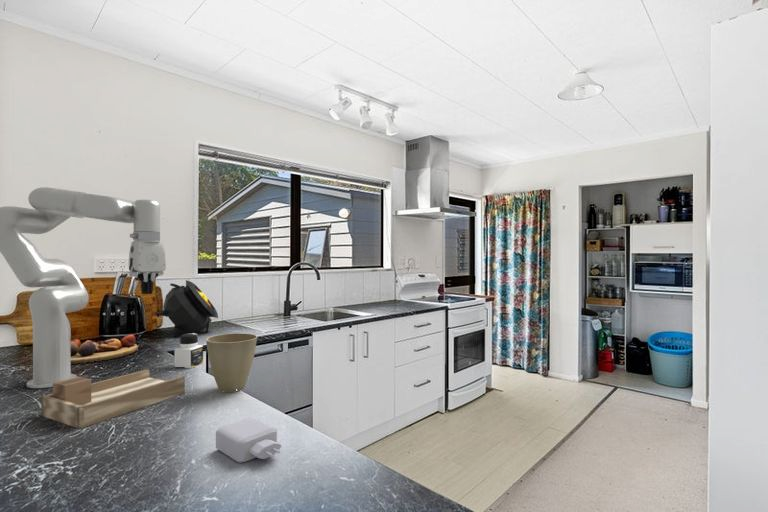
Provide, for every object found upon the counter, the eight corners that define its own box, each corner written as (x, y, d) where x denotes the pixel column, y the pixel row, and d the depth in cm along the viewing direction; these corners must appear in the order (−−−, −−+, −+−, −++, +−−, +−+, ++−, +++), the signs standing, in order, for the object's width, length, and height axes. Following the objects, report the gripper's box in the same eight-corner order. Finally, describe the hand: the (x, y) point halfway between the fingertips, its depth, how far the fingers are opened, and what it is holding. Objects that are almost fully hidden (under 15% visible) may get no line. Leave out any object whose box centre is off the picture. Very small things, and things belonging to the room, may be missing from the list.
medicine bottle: (191, 368, 147) (191, 336, 148) (174, 367, 149) (174, 335, 149) (203, 363, 154) (203, 332, 155) (187, 362, 156) (187, 332, 156)
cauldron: (169, 320, 231) (206, 293, 239) (191, 352, 217) (229, 322, 225) (140, 296, 208) (182, 267, 217) (162, 330, 195) (206, 298, 203)
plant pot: (210, 400, 114) (210, 344, 114) (202, 386, 127) (202, 336, 127) (263, 391, 122) (262, 338, 122) (250, 378, 135) (250, 331, 135)
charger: (254, 476, 75) (215, 451, 85) (295, 457, 82) (254, 436, 92) (254, 450, 75) (215, 428, 85) (294, 434, 82) (254, 415, 92)
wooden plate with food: (146, 345, 190) (145, 327, 190) (126, 360, 160) (125, 339, 160) (65, 351, 180) (64, 333, 180) (27, 369, 150) (27, 347, 150)
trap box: (41, 415, 104) (41, 396, 104) (147, 384, 129) (147, 369, 129) (79, 428, 96) (79, 407, 96) (184, 393, 120) (184, 376, 121)
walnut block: (52, 405, 104) (52, 382, 104) (78, 398, 109) (78, 376, 109) (65, 409, 101) (65, 385, 101) (91, 402, 106) (91, 379, 107)
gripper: (130, 236, 123) (130, 296, 123) (175, 238, 136) (175, 292, 136) (116, 237, 126) (116, 295, 126) (161, 239, 140) (161, 291, 140)
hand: (147, 293), depth 131 cm, fingers closed
